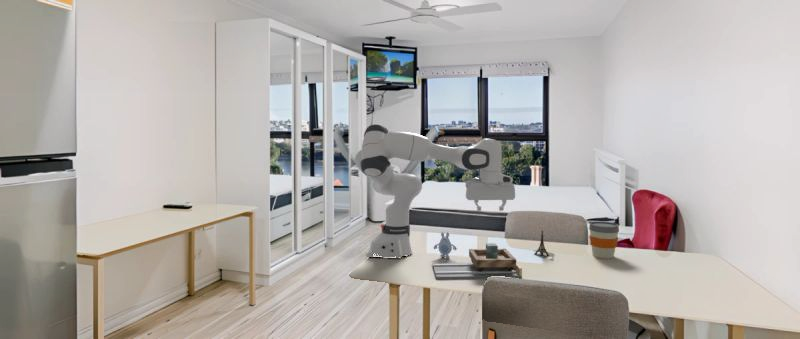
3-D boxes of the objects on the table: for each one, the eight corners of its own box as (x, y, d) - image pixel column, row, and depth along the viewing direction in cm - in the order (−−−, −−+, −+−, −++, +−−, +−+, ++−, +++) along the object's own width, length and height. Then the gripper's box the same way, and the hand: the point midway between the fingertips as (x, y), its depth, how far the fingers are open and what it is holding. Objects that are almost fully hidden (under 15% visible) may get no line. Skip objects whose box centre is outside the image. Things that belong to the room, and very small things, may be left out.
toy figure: (432, 259, 197) (432, 233, 196) (434, 255, 203) (434, 230, 202) (455, 260, 195) (456, 234, 194) (457, 256, 201) (457, 231, 200)
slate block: (487, 260, 177) (488, 246, 177) (485, 257, 181) (485, 243, 181) (497, 260, 177) (497, 245, 177) (495, 257, 181) (495, 243, 181)
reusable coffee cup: (611, 252, 206) (612, 221, 205) (622, 260, 194) (623, 227, 192) (584, 251, 207) (585, 221, 206) (593, 259, 195) (594, 227, 194)
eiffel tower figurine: (553, 262, 193) (554, 233, 192) (530, 259, 197) (530, 231, 196) (554, 253, 207) (555, 226, 206) (532, 251, 211) (533, 224, 210)
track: (436, 279, 170) (436, 269, 170) (432, 265, 188) (432, 256, 188) (521, 278, 171) (522, 268, 170) (509, 264, 189) (509, 255, 188)
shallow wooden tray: (476, 273, 171) (476, 260, 171) (469, 261, 187) (469, 249, 187) (516, 272, 172) (516, 259, 171) (505, 261, 188) (505, 248, 187)
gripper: (466, 178, 175) (466, 212, 176) (516, 178, 176) (516, 211, 177) (464, 177, 181) (464, 209, 183) (512, 176, 182) (511, 208, 183)
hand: (490, 210), depth 180 cm, fingers open, 8 cm apart
